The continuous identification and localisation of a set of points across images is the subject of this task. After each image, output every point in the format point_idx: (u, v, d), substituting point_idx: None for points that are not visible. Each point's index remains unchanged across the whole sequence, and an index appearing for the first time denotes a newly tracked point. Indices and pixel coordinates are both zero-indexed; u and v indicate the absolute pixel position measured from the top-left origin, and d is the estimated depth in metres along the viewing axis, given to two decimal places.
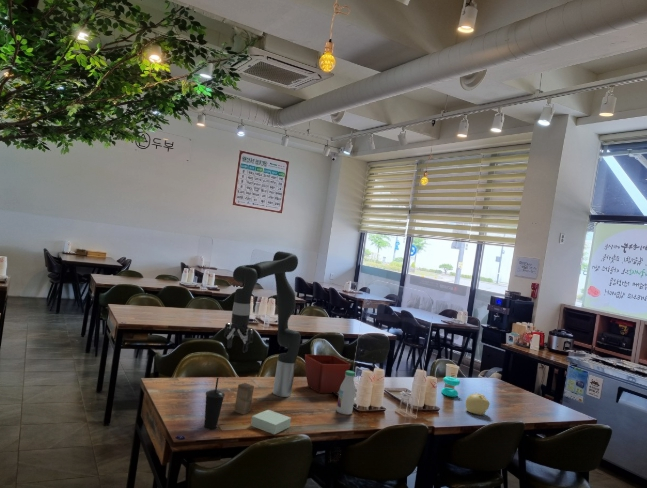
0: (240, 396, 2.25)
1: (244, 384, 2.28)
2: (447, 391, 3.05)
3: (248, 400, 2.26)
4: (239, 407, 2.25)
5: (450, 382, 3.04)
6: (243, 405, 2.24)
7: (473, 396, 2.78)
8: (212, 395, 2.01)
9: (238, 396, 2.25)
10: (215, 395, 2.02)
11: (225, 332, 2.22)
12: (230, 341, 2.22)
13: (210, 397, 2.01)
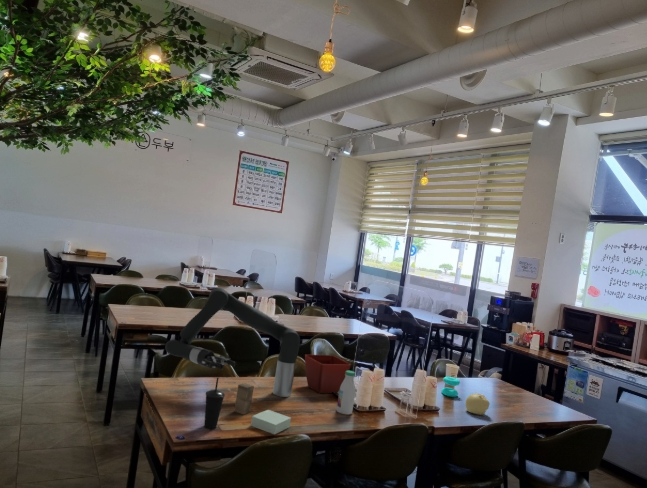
0: (240, 396, 2.25)
1: (244, 384, 2.28)
2: (447, 391, 3.05)
3: (248, 400, 2.26)
4: (239, 407, 2.25)
5: (450, 382, 3.04)
6: (243, 405, 2.24)
7: (473, 396, 2.78)
8: (212, 395, 2.01)
9: (238, 396, 2.25)
10: (215, 395, 2.02)
11: None
12: (229, 362, 2.37)
13: (210, 397, 2.01)
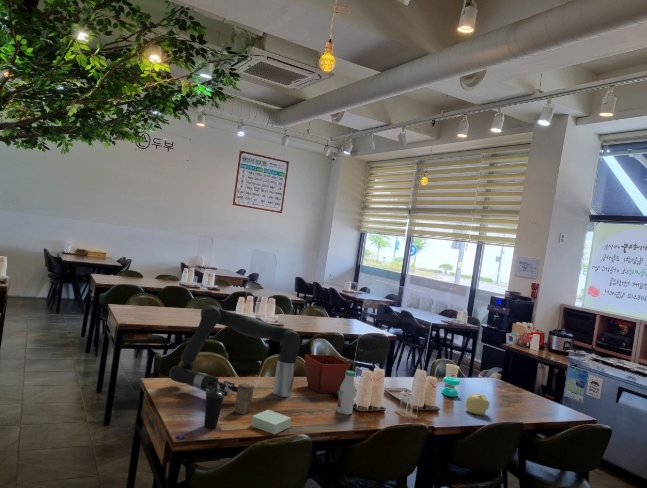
0: (240, 396, 2.25)
1: (244, 384, 2.28)
2: (447, 391, 3.05)
3: (248, 400, 2.26)
4: (239, 407, 2.25)
5: (450, 382, 3.04)
6: (243, 405, 2.24)
7: (473, 396, 2.78)
8: (212, 395, 2.01)
9: (238, 396, 2.25)
10: (215, 395, 2.02)
11: None
12: (233, 389, 2.35)
13: (210, 397, 2.01)
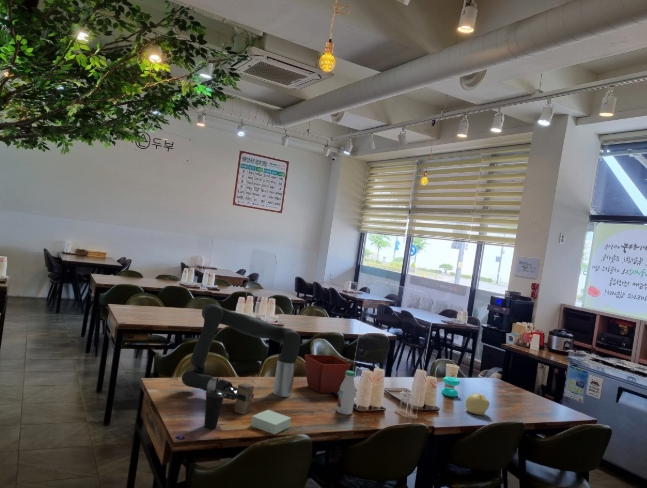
0: None
1: (244, 384, 2.27)
2: (447, 391, 3.05)
3: (248, 400, 2.26)
4: (239, 407, 2.25)
5: (450, 382, 3.04)
6: (243, 405, 2.24)
7: (473, 396, 2.78)
8: (212, 395, 2.01)
9: None
10: (215, 395, 2.02)
11: None
12: None
13: (210, 397, 2.01)
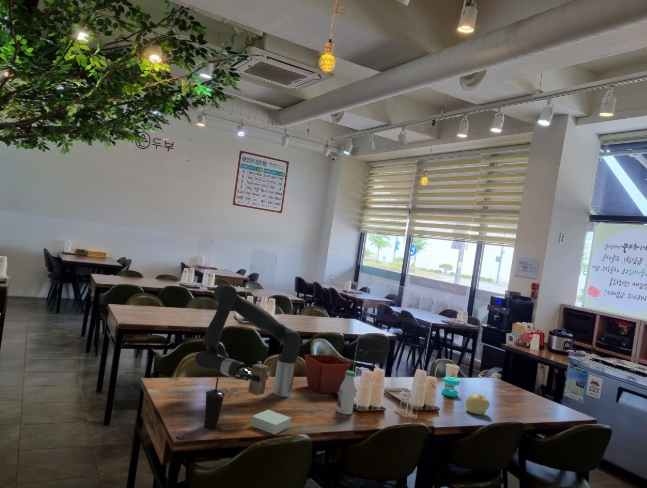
0: None
1: (258, 365, 2.23)
2: (447, 391, 3.05)
3: (262, 381, 2.21)
4: (253, 387, 2.20)
5: (450, 382, 3.04)
6: (257, 385, 2.19)
7: (473, 396, 2.78)
8: (212, 395, 2.01)
9: None
10: (215, 395, 2.02)
11: None
12: None
13: (210, 397, 2.01)
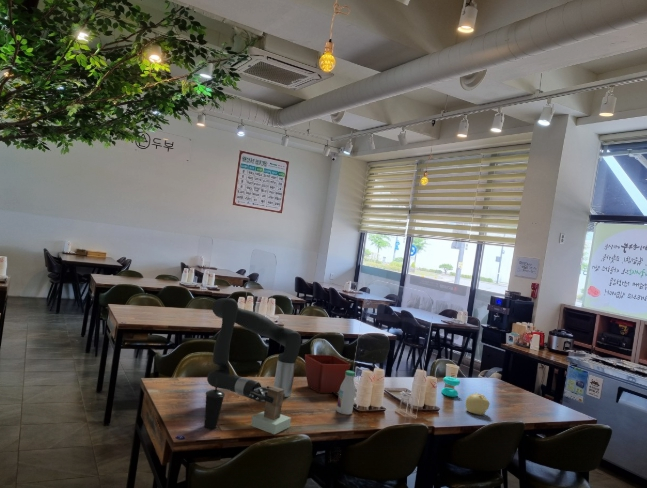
0: None
1: (274, 388, 2.16)
2: (447, 391, 3.05)
3: (278, 404, 2.14)
4: (269, 412, 2.13)
5: (450, 382, 3.04)
6: (273, 410, 2.12)
7: (473, 396, 2.78)
8: (212, 395, 2.01)
9: None
10: (215, 395, 2.02)
11: None
12: None
13: (210, 397, 2.01)
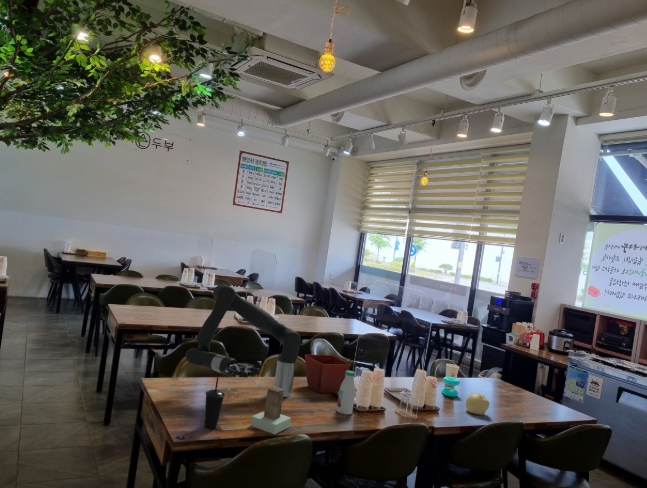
0: (270, 401, 2.13)
1: (274, 388, 2.16)
2: (447, 391, 3.05)
3: (278, 404, 2.14)
4: (269, 412, 2.13)
5: (450, 382, 3.04)
6: (273, 410, 2.12)
7: (473, 396, 2.78)
8: (212, 395, 2.01)
9: (268, 400, 2.13)
10: (215, 395, 2.02)
11: None
12: (252, 370, 2.28)
13: (210, 397, 2.01)
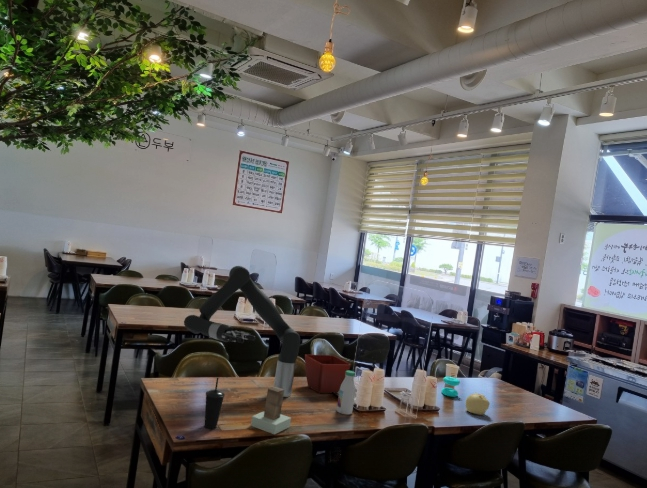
0: (270, 401, 2.13)
1: (274, 388, 2.16)
2: (447, 391, 3.05)
3: (278, 404, 2.14)
4: (269, 412, 2.13)
5: (450, 382, 3.04)
6: (273, 410, 2.12)
7: (473, 396, 2.78)
8: (212, 395, 2.01)
9: (268, 400, 2.13)
10: (215, 395, 2.02)
11: (245, 337, 2.36)
12: (249, 337, 2.32)
13: (210, 397, 2.01)
